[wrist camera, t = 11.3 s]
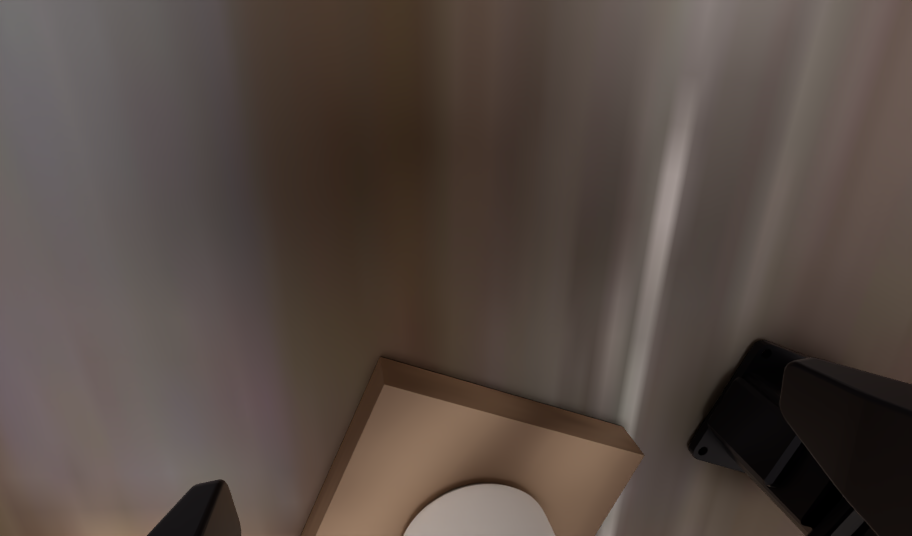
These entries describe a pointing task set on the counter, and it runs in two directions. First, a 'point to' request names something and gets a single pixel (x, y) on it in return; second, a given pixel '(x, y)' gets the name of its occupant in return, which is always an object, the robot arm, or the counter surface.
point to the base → (466, 455)
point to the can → (481, 513)
